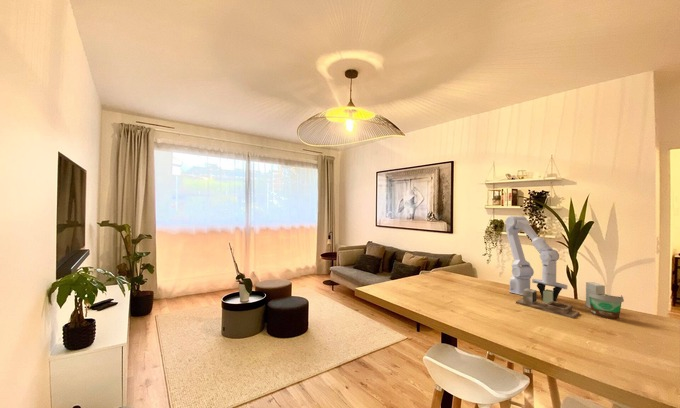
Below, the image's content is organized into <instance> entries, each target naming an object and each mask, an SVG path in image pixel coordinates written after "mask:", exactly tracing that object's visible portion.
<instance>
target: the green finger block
mask: <svg viewBox="0 0 680 408" xmlns="http://www.w3.org/2000/svg"><path fill="white" fill-rule="evenodd" d="M553 298H554V293H553V289H546V288H545V290H544V291H543V299H542V303H546V304H547V303H549V302H551V301H553Z"/></svg>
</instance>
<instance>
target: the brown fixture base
mask: <svg viewBox="0 0 680 408" xmlns="http://www.w3.org/2000/svg"><path fill="white" fill-rule="evenodd" d="M537 295H538V294H537V290H536V289H533V288H532V289H531V288H530V289H528V288H527V289H524V290H523V295H522V298H520V299H518V300H516V301H515V304H517V305H521V306H525V307H529V308H533V309H535V310H540V311H544V312H548V313H552V314H556V315H558V316H563V317H567V318H571V319H574V318H577V316H578V315H580V311H578V310H573V305H571V304H567V303H566V304H565V303H563V302H557V301H556V302H554V301H551V302H549V303H543V301H542V302H541V301H538V300H537Z"/></svg>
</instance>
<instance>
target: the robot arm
mask: <svg viewBox="0 0 680 408" xmlns="http://www.w3.org/2000/svg"><path fill="white" fill-rule="evenodd" d="M505 219H506V220H504V223H505V224H504V225H505V227H506V228H505V229H506V230H505V232H506V236H507V239H508V240H507V241H508V243H509V248H510V250H511V254H512V257H513V262H512V263H511V273H512V276H510V278H509V291H508V293H511V294H516V295H520V296H523V290H524V289H527V288H528V289H531V282H532V283H533V284H536V287H537V289H538V291H539V293H540V296H541V300H543V291H544V290H546V286H548V287H553V288H552V291H553V293H554V298H553V301H554V302H557V300H558V297H559V294H560V293H561V291H562V290H568V284H565V283H560V282H558V281H557V261H558V260H559V258H560V254H559V252H558V251H557V250H556V249H553V248H552V247H551V246H550V245H549V244H548V243H547V242H546V239H545V238H543V237H540V236H539V235H538V234H537V232H536V231H535V230H534V229H533V227H532V226H531V224H530V220H528V219H527V217H526V216H524V215H519V216H518V215H517V216H516V215H515V216H514V215H509V216H507V217H506V218H505ZM521 230H522V231H523V232H524V233H525V234H526V235H527V236H528V237H529V238H530V240H531V245H532V246H533V247H534V248H535V249H536V250H537V253H539V258H540V260H541V264H542V267H541V268H542V279H538V278H532V277H533V276H534V275H535V272H534V268H533V267H532V266H531V264H530V262H529V261H527V259H526V258H525V254H524V250H523V247H522V244H521V240H520V236H519V232H520V231H521ZM531 280H532V281H531Z"/></svg>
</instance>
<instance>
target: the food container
mask: <svg viewBox="0 0 680 408" xmlns="http://www.w3.org/2000/svg"><path fill="white" fill-rule="evenodd" d="M587 296H589V299H590V306H591V308H590V314H591V315H594V316H596V317H599V318H603V319H607V318H608V320H619V319H620V316H621V315H620V314H621V308H622V303H624V301H625V300H624V296H623V295H620V296H615V295H610V294H606V293H605V294H594V293H591V292H589V293H588V294H587Z"/></svg>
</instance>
